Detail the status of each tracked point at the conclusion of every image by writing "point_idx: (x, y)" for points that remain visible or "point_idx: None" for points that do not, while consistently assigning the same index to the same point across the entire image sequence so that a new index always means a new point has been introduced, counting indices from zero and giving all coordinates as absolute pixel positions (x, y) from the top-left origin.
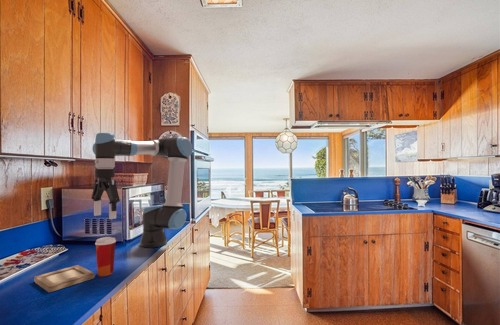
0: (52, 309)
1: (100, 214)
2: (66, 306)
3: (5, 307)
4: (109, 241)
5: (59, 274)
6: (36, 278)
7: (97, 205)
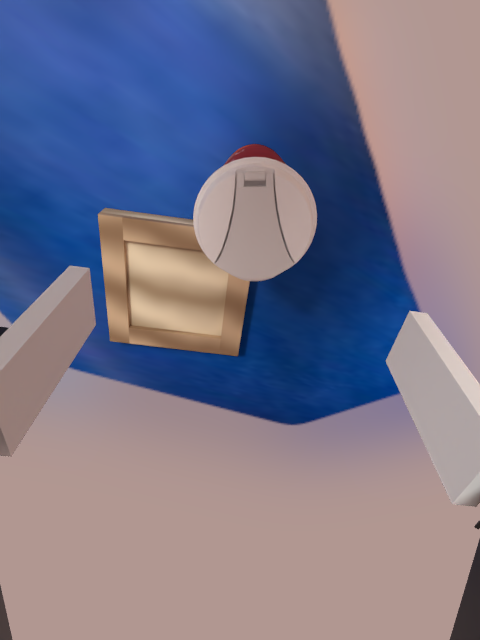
0: (342, 379)
1: (86, 276)
2: (360, 361)
3: (233, 410)
4: (309, 239)
5: (143, 291)
6: (132, 343)
7: (37, 377)
